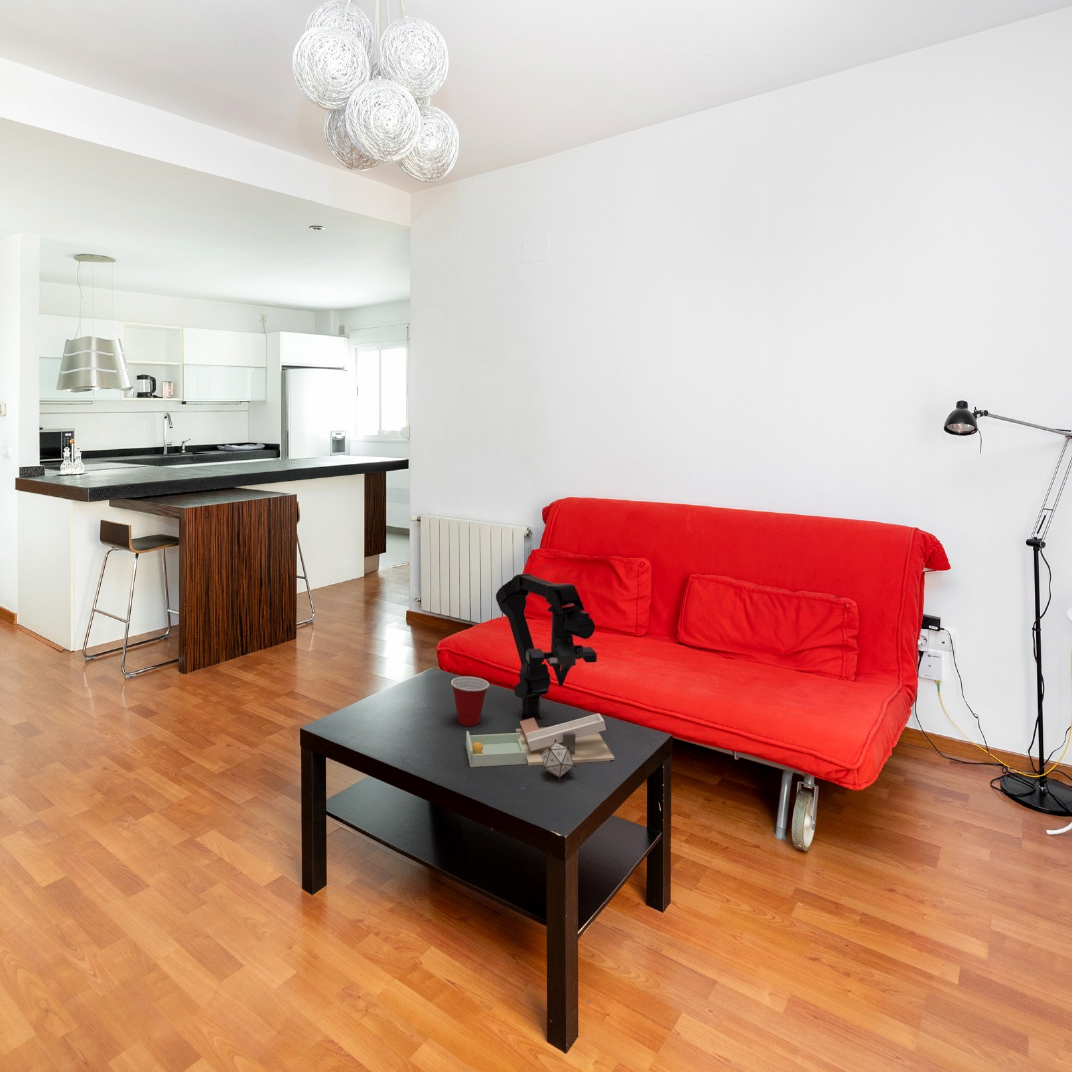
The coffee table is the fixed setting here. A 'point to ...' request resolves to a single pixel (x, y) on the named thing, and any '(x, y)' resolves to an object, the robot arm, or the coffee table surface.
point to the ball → (477, 748)
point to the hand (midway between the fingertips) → (560, 685)
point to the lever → (560, 730)
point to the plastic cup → (469, 698)
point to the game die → (557, 759)
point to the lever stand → (572, 748)
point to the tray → (496, 750)
